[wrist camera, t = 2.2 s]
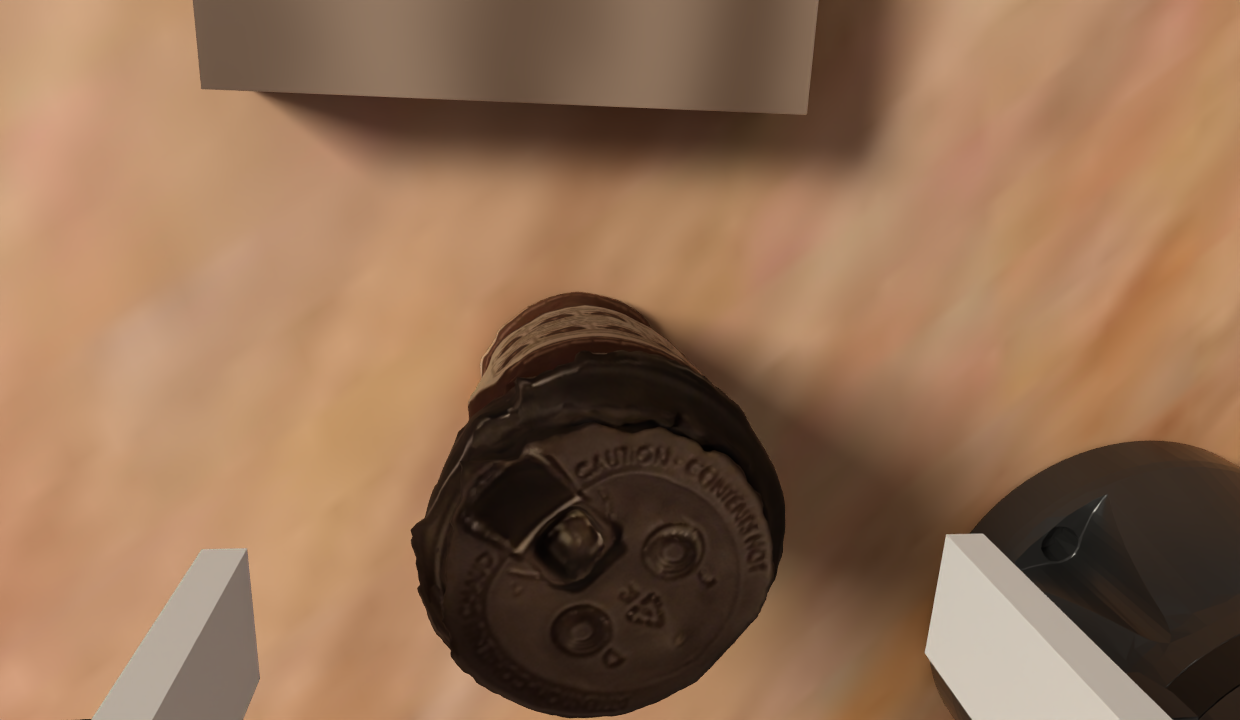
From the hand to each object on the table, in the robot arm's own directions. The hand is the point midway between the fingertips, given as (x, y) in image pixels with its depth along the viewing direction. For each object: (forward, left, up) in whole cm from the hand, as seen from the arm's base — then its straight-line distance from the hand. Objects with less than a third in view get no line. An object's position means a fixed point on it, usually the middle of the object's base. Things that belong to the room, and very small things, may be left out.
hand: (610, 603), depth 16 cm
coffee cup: (0, 0, -14) cm, 14 cm away
